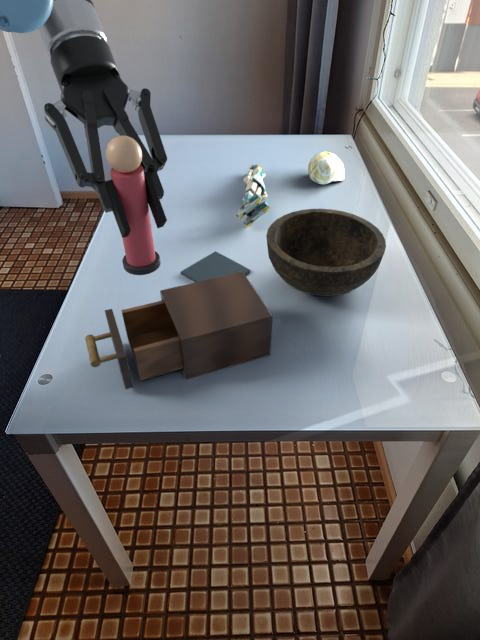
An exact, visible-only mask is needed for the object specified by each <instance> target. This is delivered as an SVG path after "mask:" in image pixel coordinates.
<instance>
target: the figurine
mask: <svg viewBox="0 0 480 640" xmlns="http://www.w3.org/2000/svg"><path fill="white" fill-rule="evenodd" d="M265 178H266V172H265V171H263V166H261V164H252V165H250V166H249V169H248V172H247V173H246V174H245V176H244V178H243V182H244V184H245V186H244V187H245V195H244V197H243V198H242V205H241V206H240V207H239V210H238V212H237V213H236V214H235V217H236V218H237V220H241V219H243V218H245V216H246V218H245V219H244V220H243V221H242V224H243V225H244V226H245V228H249V227H250V226H251V225H252V224H254V222H256V221H257V220H259V218H261V217H262V216H263V215H264V214H266V213H267V212H268V211H269V210H270V204H269V202H266V201H264V200H265V199H266V198H267V197H268V192H267V191H266V186H265V182H264V179H265Z"/></svg>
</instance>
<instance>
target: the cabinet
mask: <svg viewBox="0 0 480 640" xmlns="http://www.w3.org/2000/svg"><path fill="white" fill-rule="evenodd" d="M159 294H160V301H162V300H163V301H164V303H165V306H166V308H167V310H168V313H169V315H170V317H171V320H172V322H173V324H174V327H175V329H176V331H177V334H178V336H179V338H180V341H181V350H182V358H183V367H184V368H182V369H181V371H182V374H183V376H184V378H185V380H188V379H191V378H196V377H198V376H202V375H205V374H210V373H212V372H216V371H219V370H223V369H226V368H231V367H233V366H236V365H240V364H244V363H247V362H250V361H255V360H257V359H261V358H264V357H268V356H271V352H272V351H271V350H272V337H273V336H272V334H273V319H274V318H273V315H272V313H271V312H270V310H269V308H268V307H267V306H266V304H265V302H264V301H263V300H262V298H261V296H260V295H259V293H258V291H256V289H255V288H254V286H253V285H252V283H251V281H250V279H248V277H247V275H245V274H244V273H243V271H242V272H238V273H233V274H229V275H225V276H221V277H216V278H212V279H208V280H203V281H199V282H191V283H190V282H189V283H186V284H182V285H178V286H174V287H169V288H163V289H160V290H159Z"/></svg>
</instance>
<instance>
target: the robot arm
mask: <svg viewBox="0 0 480 640" xmlns="http://www.w3.org/2000/svg"><path fill="white" fill-rule="evenodd" d="M37 30H38V32H39V34H40V37H41V40H42V43H43V46H44V48H45V51H46V54H47V57H48V58H49V60H50V65H51V68H52V71H53V74H54V76H55V78H56V82H57V84H58V87H59V89H60V92H61V93H60V99H59V100H57V101H56V102H55V103H52V102H47V103H44V106H43V111H44V120H45V121H46V122H47V124H48V125H49V126H50V127H51V128H52V129H53V130H54V132H55V133H56V136H57V138H58V141H59V143H60V146H61V148H62V150H63V153H64V155H65V158H66V160H67V163H68V165H69V168H70V170H71V172H72V175H73V177H74V179H75V181H76V184H77V186H78V187H79V188H85V187H88V188H92V189H93V190H94V191H95V192H96V194H97V197H98V199H99V201H100V204H101V208H102V210H103V211H104V212H105V213H111V212H112V214H113V217H114V219H115V222H116V224H117V227H118V229H119V232H120V235H121V238H122V239H123V238H124V237H127V236H128V235H129V233H130V231H131V229H130V226H129V223H128V221H127V218H126V215H125V213H124V210H123V207H122V205H121V202H120V199H119V196H118V194H117V191H116V188H115V186H114V183H113V180H111V179H107V180H106V179H105V177H106V175H105V170H104V162H103V156H102V155H103V154H102V149H101V142H100V135H99V129H100V128H102V127H103V126H109V127H111V126H112V127H113V129H114V131H115V132H116V133H117V134H118V136H128V137H131V138H133V139H134V140H135V141H136V142H137V143H138V144H139V146H140V148H141V150H142V161H141V164H140V165H141V166H142V167H143V169H144V177H145V184H146V191H147V198H148V206H149V210H150V213H151V215H152V217H153V220H154V223H155V225H156V228H157V229H161V228H164V226H165V224H166V223H167V222H168V219H167V216H166V213H165V211H164V208H163V205H162V203H161V200H162V199H163V197H164V195H165V190H164V188H163V184H162V182H161V179H160V176H159V173H158V172H160V171H162V170H163V169H164V167H165V166H166V163H167V161H168V156H167V153H166V150H165V147H164V143H163V141H162V138H161V135H160V132H159V128H158V125H157V123H156V119H155V116H154V113H153V110H152V107H151V98H152V97H151V91H150V90H149V88H142V89H141V91H138V90H133V89H129V86H128V85H127V84H126V83H125V82H124V81H123V79H122V78H121V75H120V72H119V70H118V69H119V68H118V65H117V63H116V61H115V58H114V56H113V52H112V50H111V47H110V45H109V44H108V38H107V36H106V33H105V30H104V28H103V26H102V23H101V21H100V18H99V16H98V13H97V11H96V8H95V6H94V2H93V0H0V31H2V32H5V33H16V34H27V33H32V32H34V31H37ZM128 102H130V103H131V104H132V108H133V110H134V111H136V112H137V115H138V120H139V123H140V127H141V130H142V132H143V135H144V136H143V137H144V138H145V141H146V144H147V147H146V146H145V144H144V143H143V141H142V139H141V138H140V136H139V134H138V133H137V131H136V130H135V127H134V126H133V125H132V123H131V121H130V119H129V115H128V113H127V112H126V107H127V103H128ZM67 112H68V113H69V114H70V115H71V116H73V117H74V118H76V119H77V120H78V121H79V122H80V123H82V124H83V128H84V135H85V138H86V145H87V153H88V159H89V164H90V172H89V171H87V168H86V166H85V163H84V161H83V159H82V156H81V153H80V151H79V148H78V146H77V144H76V141H75V139H74V137H73V134H72V132H71V130H70V127H69V124H68V122H67ZM147 148H148V150H147Z"/></svg>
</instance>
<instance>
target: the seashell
mask: <svg viewBox="0 0 480 640" xmlns="http://www.w3.org/2000/svg"><path fill="white" fill-rule="evenodd" d="M307 171H308V172H307V173H308V177H309V179H310V180H311V181H312V182H314V183H315V184H318V185H328V184H330V183H332V182H342V181H344V180H345V166H344V163H343V161H342V159H341V158H340V157H339V156H338V155H337V154H335V153H333V152H331V151H321V152H318V153H317V154H315V155H313V157H311V159H310V160H309V162H308V164H307Z"/></svg>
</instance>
